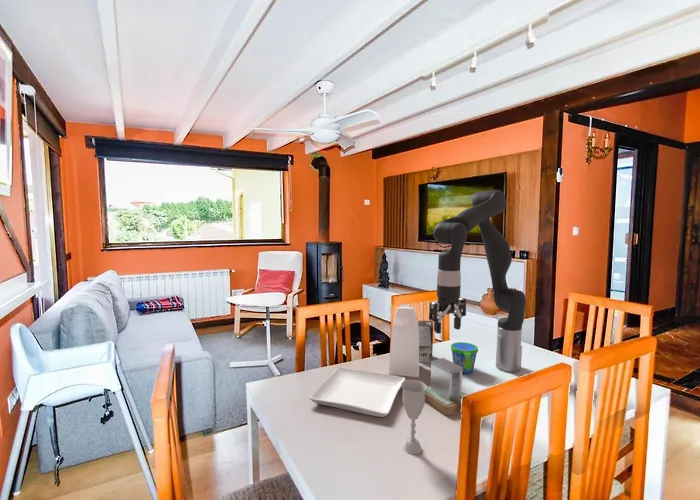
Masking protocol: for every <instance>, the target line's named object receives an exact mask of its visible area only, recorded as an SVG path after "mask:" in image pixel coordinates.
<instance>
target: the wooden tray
mask: <svg viewBox="0 0 700 500" xmlns="http://www.w3.org/2000/svg"><path fill="white" fill-rule="evenodd" d="M464 395H468V394H466V393H465V392H463V391H462V392H461V397H459V398H456V399H452V400H447V399H446V398H444V397H442V396H441V395H439V394H437V393H436V392H434V391H433V390H431V385H428V386H427V388H426V390H425V403H426V405H427V404H428V406H430V407H431V408H434V410H436V411H438V412H439V413H440V414H442V415H443V416H445V417H446V418H447V417H449V416H451V415H452V416H453V415H454V414H458V413H461V412H460V410H461V399H462V397H463V396H464Z"/></svg>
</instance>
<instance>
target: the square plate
mask: <svg viewBox="0 0 700 500" xmlns="http://www.w3.org/2000/svg"><path fill="white" fill-rule="evenodd" d="M403 381H406V378H405V376H399V375H389V373H381V372H377V371H370V370H369V371H368V370H363V369H357V368H350V367H349V368H348V367H343V366H339V367H337V368H336V369H335V370H334V371H333V372H332V373H331V375H329V376H328V377H327V379H326V380H324V382H323V383H322V384H321V385H320V386H319V387H318V388H317V389H316V390H315V391H313V393H312V394H311V395H310V396H309V400H310V401H312V403H313V402H314V403H315V404H318V405H322V406H327V407H331V408H338V409H341V410H347V411H351V412H356V413H360V414H364V415H367V416H374V417H379V418H385V417H386V416H388V415H390V414H389V413H390V412H391V410H392V408H393V404H394V402H395V399H396V398H397V395H398V393H399V392H400V390H401V388H402V386H401V384H402V382H403Z"/></svg>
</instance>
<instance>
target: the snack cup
mask: <svg viewBox="0 0 700 500" xmlns="http://www.w3.org/2000/svg"><path fill="white" fill-rule="evenodd" d="M450 350H451V353H452V362H453V363H455V364H457V365H459V366H461V367H462V374H470V373H472V372H474V370H475V369H474V368H475V363H476V358H477V353H478V352H479V347H478V345H475V344H473V343H470V342H463V341H462V342H461V341H458V342H453V343H451V344H450Z"/></svg>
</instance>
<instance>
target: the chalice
mask: <svg viewBox="0 0 700 500" xmlns="http://www.w3.org/2000/svg"><path fill="white" fill-rule="evenodd" d="M401 386H402V387H401V388H402V404H403V407H404V410H405V413H406V415H407V416H408V417H407V418H409V419H411V422H410V430H409V433H410V437H408V438H407V439H406V440H405V442H404V444H403V446H402V447H403V450H404V452H406V453H407V454H410V455H419V454H420V453H421V452H422V451H423V448H422V447H421V443H420V441H419V440H418V438H416V437H415V434H416V433H417V431H416V426H417V425H416V420H418V419H419V417H420V416H421V414H422V412H423V409H424V407H425V390H426V388H427V387H428V386H427V384H426V383H425V382H423V381H421V380H417V379H405V381H403V382H402V384H401Z"/></svg>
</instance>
